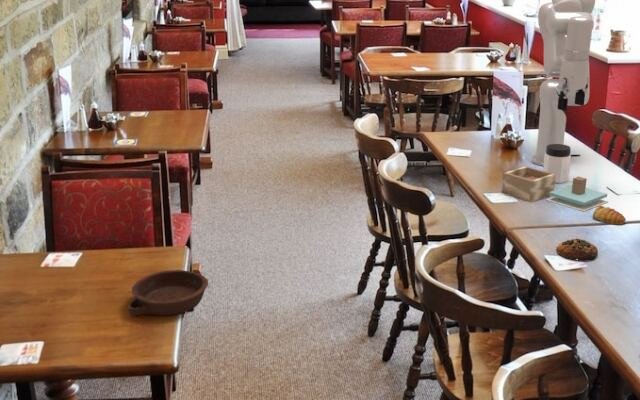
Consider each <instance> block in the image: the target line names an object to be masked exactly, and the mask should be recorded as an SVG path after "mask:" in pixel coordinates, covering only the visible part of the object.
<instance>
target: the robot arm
mask: <svg viewBox="0 0 640 400" xmlns="http://www.w3.org/2000/svg"><path fill="white" fill-rule="evenodd" d="M595 5H596V0H551V2H546V3H544V4H542V5H540V7H539V9H538V12H537V13H538V14H537V20H538V21H537V22H538V27H539V31H540V34H541V38H542V40H543V41H542V42H543V69H544V70H543V71H544V74H545V75H546V76H547V77H550V78H549V79H547V80H544V81H542V83H541V84H540V86H539V102H540V103H539V104H540V105H539V110H540V112H539V119H538V120H539V122H538V132H537V133H538V134H537V142H536V152H535V155H534V156H532V157H531V159H530V161H531V163H533V164H535V165H538V166H542V167H543V166H544V156H545V153H546V147H547V145H550V144H562V145H565V144H564V143H565V132H566V124H567V116H566V113H565V112H566V111H567V110H568V106H569V107H571V106H573V107H577V106H578V107H579V106H580V107H582V106H585V105H587V103H588V102H589V99H590V91H591V90H590V80H591V79H590V60H589V58H590V50H591V42H592V33H593V29H594V26H595V19H594V17H593V15H592V13H593V10H594V9H595Z"/></svg>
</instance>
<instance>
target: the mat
mask: <svg viewBox="0 0 640 400" xmlns="http://www.w3.org/2000/svg"><path fill="white" fill-rule="evenodd" d="M545 200H546V202H551V203H554V204H556V205H560V206H563V207H567V208H570V209H573V210H577V211H579V212H584V213H585V212H587V211H590V210H593V209H596V208H597V207H598V206H603V205H604V204H607V203H609V201H608V200H605V199H600V200H597V201H595V202H593V203H590V204H588V205H585V206H583V207H580V206H577V205H574V204H570V203H567V202H564V201H560V200H558V198H557V197H554V196H551V197H549V198H547V199H545Z"/></svg>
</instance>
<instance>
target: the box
mask: <svg viewBox="0 0 640 400" xmlns="http://www.w3.org/2000/svg"><path fill="white" fill-rule="evenodd" d="M502 175H503V177H502V187H501V188H502V189H501V190H502V191H501V193H502V194H504V195H508V196H511V197H514V198H518V199H521V200H524V201H527V202H531V203H533V202H536V201H539V200H541V199H545V198H546V197H551V196H550V195H549V192H552V191H554V190H555V184H556V183H555V175H556V174H552V173H549V172H545V171H543V170H541V169H537V168H533V167H531V166H527V165H526V166H525V165H524V166H522V167H519V168H518V167H517V168H515V169H512V170H509V171H506V172H503V174H502Z"/></svg>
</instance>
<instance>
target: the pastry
mask: <svg viewBox="0 0 640 400" xmlns="http://www.w3.org/2000/svg"><path fill="white" fill-rule="evenodd" d="M592 217H593V218H594V220H596V221H600V222H602V223H605V224H610V225H619V226H620V225H623V224H625V223H626V217H625V216H624V215H623V214H622V213H621V212H620V211H617V210H616V209H615V208H611V207H608V206H606V207H605V206H603V205H600V206H597V207H595V208H594V211H593V213H592Z"/></svg>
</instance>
